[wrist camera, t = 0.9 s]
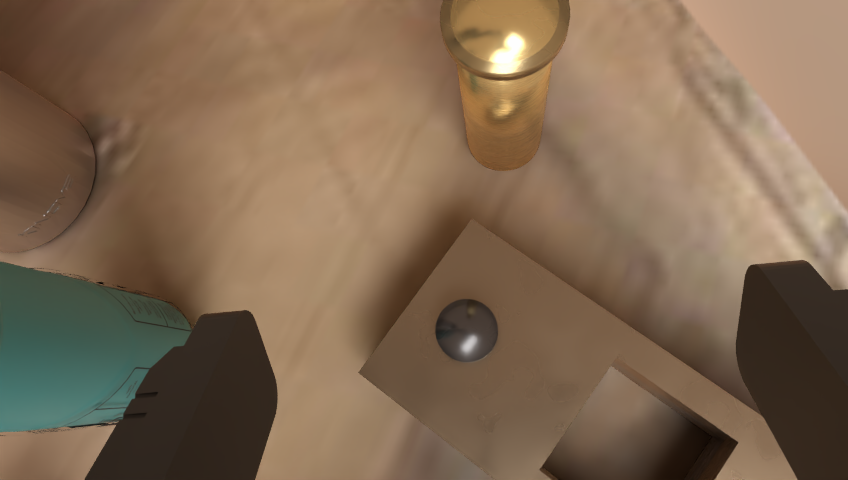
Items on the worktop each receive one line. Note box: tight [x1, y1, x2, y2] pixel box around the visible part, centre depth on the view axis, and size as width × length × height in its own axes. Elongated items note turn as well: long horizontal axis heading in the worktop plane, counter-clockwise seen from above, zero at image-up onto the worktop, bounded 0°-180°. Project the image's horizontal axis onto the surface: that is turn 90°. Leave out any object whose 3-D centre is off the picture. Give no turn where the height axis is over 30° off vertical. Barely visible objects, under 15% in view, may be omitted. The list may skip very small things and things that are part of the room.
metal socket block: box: [358, 219, 798, 480], centre depth 29 cm, size 21×9×5 cm, turn 53°
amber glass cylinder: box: [440, 0, 570, 171], centre depth 30 cm, size 5×5×12 cm
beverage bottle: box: [0, 262, 192, 436], centre depth 25 cm, size 6×7×20 cm
